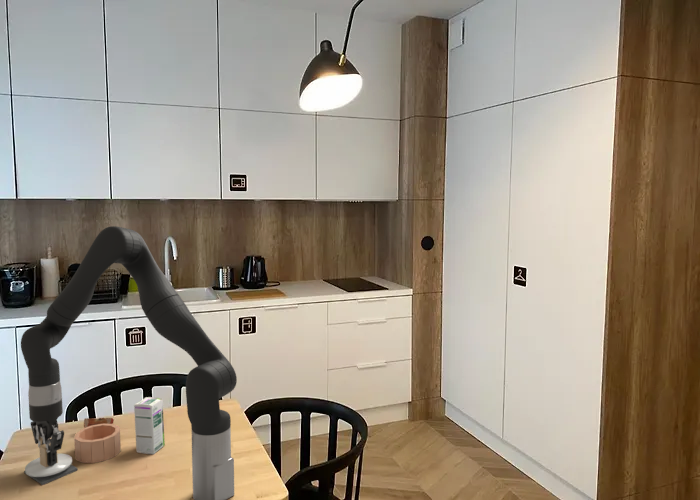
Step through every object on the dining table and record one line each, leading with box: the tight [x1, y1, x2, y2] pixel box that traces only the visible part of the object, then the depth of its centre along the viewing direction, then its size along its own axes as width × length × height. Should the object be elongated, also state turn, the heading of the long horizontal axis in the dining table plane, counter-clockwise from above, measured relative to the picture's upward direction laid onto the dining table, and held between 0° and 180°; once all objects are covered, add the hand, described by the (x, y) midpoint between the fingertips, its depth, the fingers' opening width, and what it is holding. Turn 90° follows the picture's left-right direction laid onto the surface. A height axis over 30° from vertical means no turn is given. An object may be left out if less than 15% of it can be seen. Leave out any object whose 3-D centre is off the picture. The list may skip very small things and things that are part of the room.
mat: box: [23, 464, 79, 486], centre depth 140 cm, size 10×9×1 cm
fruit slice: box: [83, 417, 115, 428], centre depth 163 cm, size 8×7×5 cm
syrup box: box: [133, 396, 166, 455], centre depth 152 cm, size 6×6×14 cm
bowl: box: [73, 423, 122, 464], centre depth 150 cm, size 12×12×6 cm
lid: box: [24, 443, 73, 478], centre depth 139 cm, size 11×11×6 cm
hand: (48, 462), depth 139 cm, fingers closed on lid, 3 cm apart
